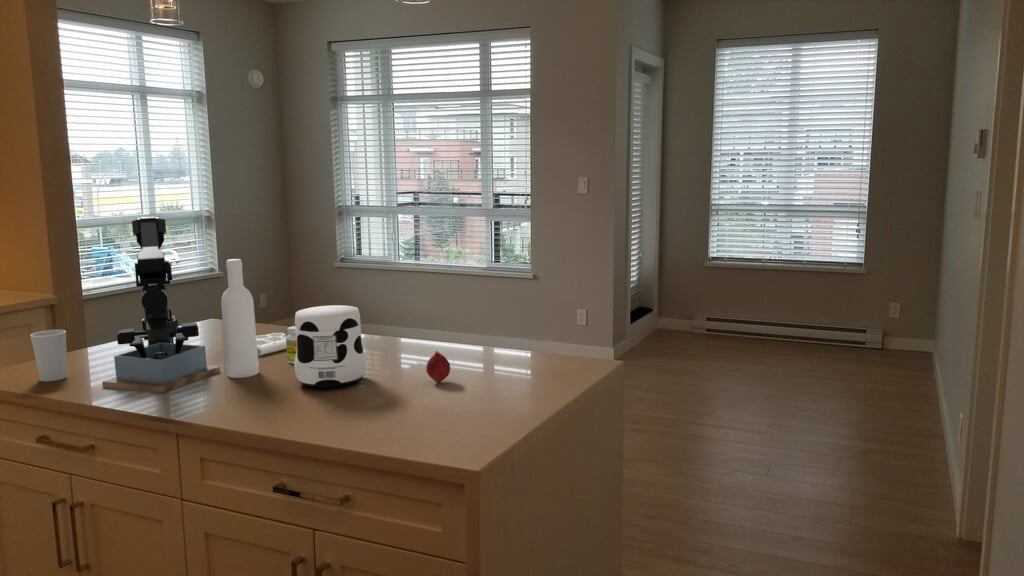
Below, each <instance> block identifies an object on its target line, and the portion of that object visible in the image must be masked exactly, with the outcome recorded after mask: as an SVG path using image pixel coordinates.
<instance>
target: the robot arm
mask: <svg viewBox="0 0 1024 576" xmlns="http://www.w3.org/2000/svg"><path fill="white" fill-rule="evenodd" d="M166 223H167V222H166V219H164V218H161V217H157V216H155V215H154V216H141V217H139V218H136V219H134V220H132V221H131V226H132V227H131V228H132V235H133V237H136V242H137V244H138V245H139V247H140V248H141V250H140V251H139V252H138V253H137V254H136V258H137V261H136V262H135V261H134V272H135V273H134V274H135V282H136V283H135V286H136V287H137V288H138V287H139V288H140V287H142V288H141V305H142V307H143V315H144V318H142V319H141V322H142V324H141V325H142V330H139V331H136V329H135V328H134V327H133V328H122V329H118V331H117V332H116V333H117V334H116V339H117V341H116V342H117V345H129V347H134V348H135V350H137V351H138V352H139V354H140V355H141V357H142V358H147V355H146V351H145V347H146V346H145V343H144V341H147V346H150V345H154V344H157V343H173V344H175V355H176V354H179V353H180V350H181V347H182V345H183V344H184V343H185V342H186V341H189V338H196V337H199V336H200V333H199V331H200V330H199V326H198V323H197V322H185V323H183V322H182V323H180V326H179V320H178V319H177V318H176V317H175V315H173V314H172V309H171V308H170V306H169V300H168V289H167V286H166V285H171V281H173V274H172V271H173V270H172V265H171V263H170V261H169V260H168V259H165V252H164V251H162V250H161V248H162V246H163V243H164V242H165V235H167V226H166ZM174 338H175V340H174ZM174 341H175V342H174Z"/></svg>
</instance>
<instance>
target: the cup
mask: <svg viewBox="0 0 1024 576" xmlns="http://www.w3.org/2000/svg"><path fill="white" fill-rule="evenodd" d="M30 339H31V344H32V347H33V353H34V357H35V358H34V359H35V362H36V366H37V370H38V376H39V381H40V382H55V381H60V380H63V379H66V378H68V377H69V376H68V362H67V361H68V360H67V359H68V357H67V355H68V354H67V331H66V330H64V329H50V330H49V329H48V330H44V331H43V330H42V331H41V330H40V331H37V332H34V333H30Z"/></svg>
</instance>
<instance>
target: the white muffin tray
mask: <svg viewBox="0 0 1024 576" xmlns="http://www.w3.org/2000/svg"><path fill="white" fill-rule="evenodd" d="M286 337H287V335H286V333H284V332H273V333H269V334H260V335H256V340H257V352H258V357H262V356H264V355H268V354H273V353H277V352H280V351H285V350H287V346H286Z"/></svg>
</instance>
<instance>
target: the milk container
mask: <svg viewBox="0 0 1024 576" xmlns="http://www.w3.org/2000/svg"><path fill="white" fill-rule="evenodd" d="M294 323H295V324H294V326H296V340H297V351H296V356H295V362H294V364H293V365H294V366H293V367H294V368H293V369H294V372H295V373H294V374H295V377H296V380H298V382H299V383H301V384H303V385H304V386H307V387H313V388H334V387H335V388H336V387H340V386H346V385H350V384H353V383H356V382H358V381H360V380H361V379H363V377H364V376H365V374H366V371H367V356H366V351H365V350H364V347H363V344H362V328H361V327H362V326H361V314H360V310H359V308H358V307H356V306H352V305H344V304H343V305H341V304H338V305H337V304H336V305H335V304H333V305H321V306H320V305H319V306H312V307H308V308H303V309H300V310H297V311H296V312H295V315H294Z"/></svg>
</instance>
